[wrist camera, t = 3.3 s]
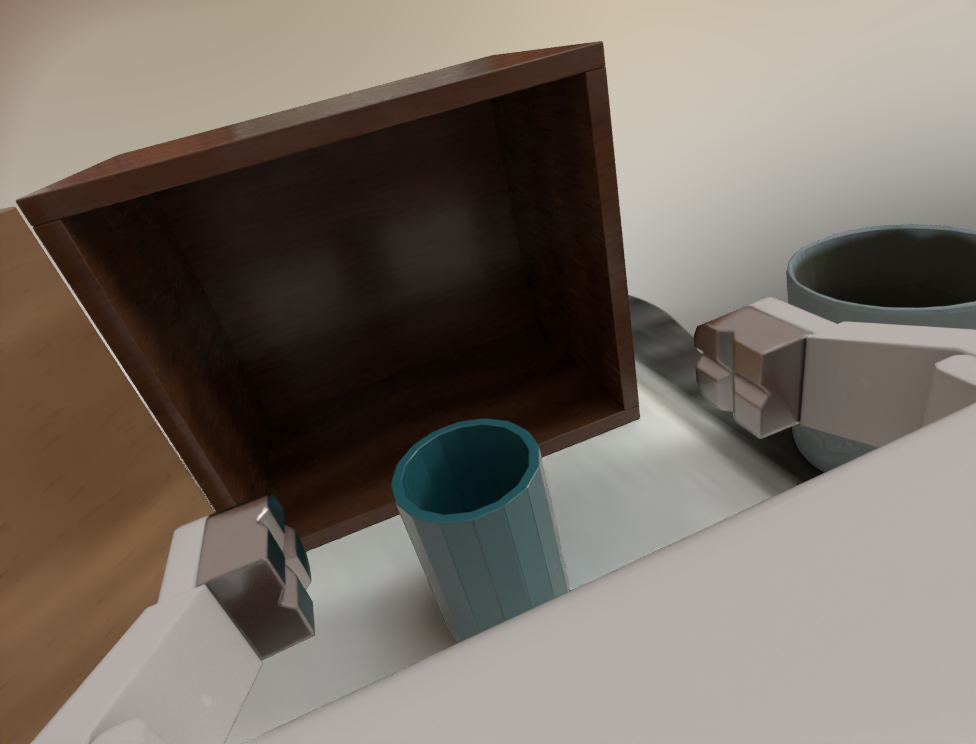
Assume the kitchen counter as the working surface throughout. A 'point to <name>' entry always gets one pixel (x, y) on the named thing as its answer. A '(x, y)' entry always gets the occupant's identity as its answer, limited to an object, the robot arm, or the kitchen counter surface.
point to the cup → (481, 523)
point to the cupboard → (363, 279)
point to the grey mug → (882, 295)
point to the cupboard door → (71, 492)
